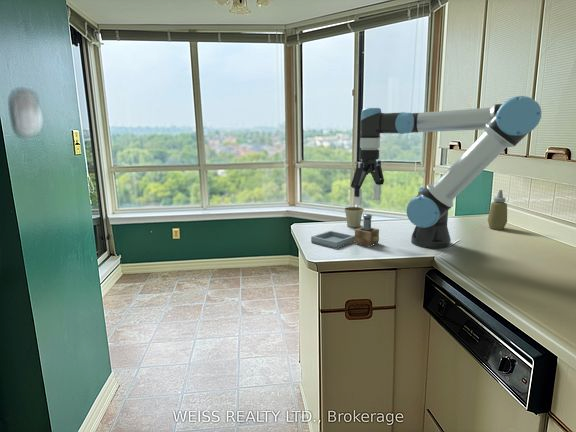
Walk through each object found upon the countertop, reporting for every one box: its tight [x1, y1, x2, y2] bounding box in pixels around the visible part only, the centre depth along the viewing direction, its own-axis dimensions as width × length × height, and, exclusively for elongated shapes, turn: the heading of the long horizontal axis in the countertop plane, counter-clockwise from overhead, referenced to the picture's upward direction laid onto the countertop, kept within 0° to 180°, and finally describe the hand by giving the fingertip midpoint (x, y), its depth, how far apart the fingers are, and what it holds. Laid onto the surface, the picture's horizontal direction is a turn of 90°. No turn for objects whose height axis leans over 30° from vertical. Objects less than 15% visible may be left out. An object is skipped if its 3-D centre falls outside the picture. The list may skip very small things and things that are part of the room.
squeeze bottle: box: [487, 189, 508, 231], centre depth 178 cm, size 8×8×18 cm
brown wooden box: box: [354, 226, 380, 247], centre depth 158 cm, size 9×7×6 cm
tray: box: [310, 230, 355, 249], centre depth 162 cm, size 13×13×2 cm
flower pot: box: [343, 206, 365, 228], centre depth 187 cm, size 9×9×9 cm
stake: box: [362, 213, 373, 231], centre depth 158 cm, size 3×3×12 cm
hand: (367, 202), depth 156 cm, fingers open, 13 cm apart
